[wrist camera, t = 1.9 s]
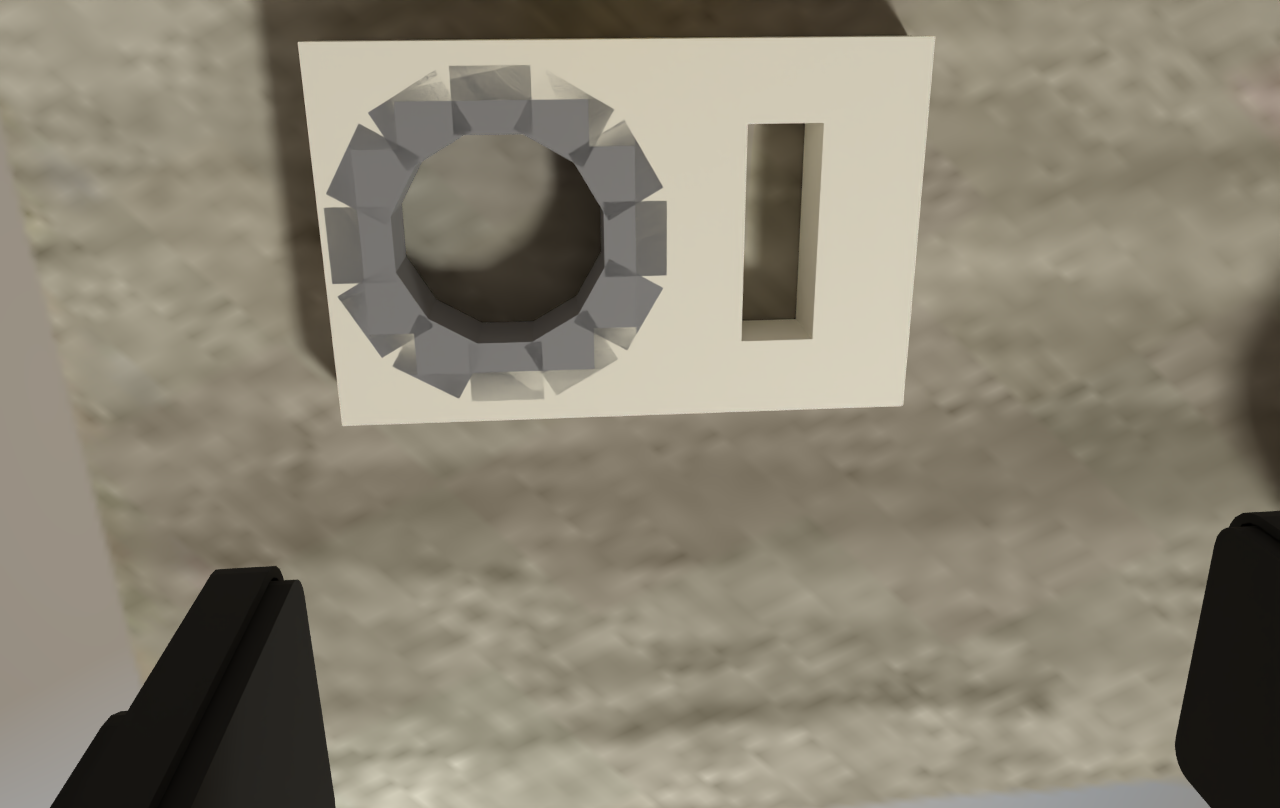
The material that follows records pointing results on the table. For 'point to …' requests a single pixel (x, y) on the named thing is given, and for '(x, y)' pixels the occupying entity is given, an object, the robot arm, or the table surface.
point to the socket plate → (626, 222)
